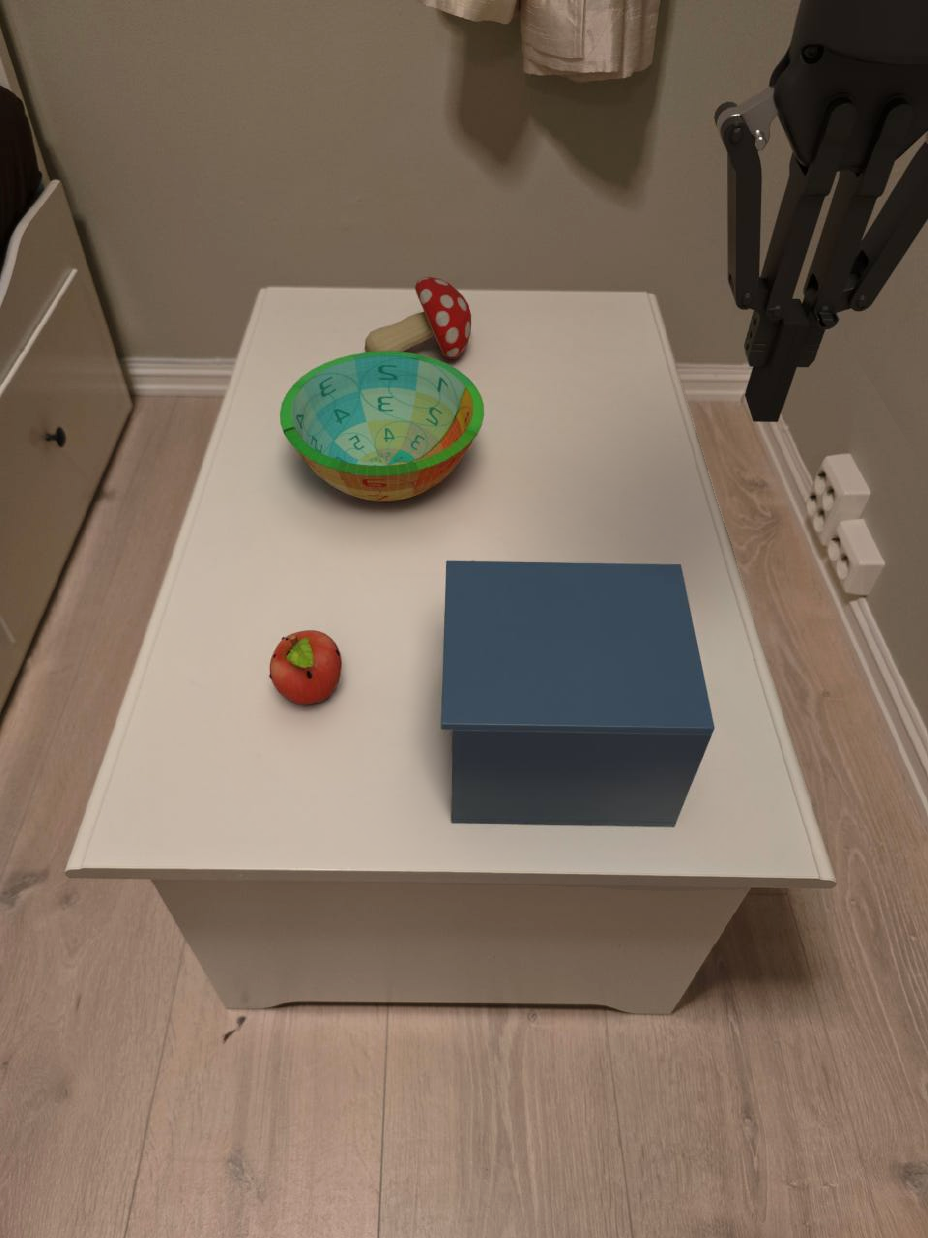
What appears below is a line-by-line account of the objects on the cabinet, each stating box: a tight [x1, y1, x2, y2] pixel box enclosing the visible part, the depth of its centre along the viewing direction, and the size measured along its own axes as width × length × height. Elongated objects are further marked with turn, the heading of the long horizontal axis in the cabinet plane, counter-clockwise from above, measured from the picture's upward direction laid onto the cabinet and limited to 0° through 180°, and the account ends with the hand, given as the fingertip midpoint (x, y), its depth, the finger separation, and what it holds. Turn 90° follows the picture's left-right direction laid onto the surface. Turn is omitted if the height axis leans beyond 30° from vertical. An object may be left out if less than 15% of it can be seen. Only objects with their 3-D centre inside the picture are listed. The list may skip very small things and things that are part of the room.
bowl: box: [279, 351, 485, 502], centre depth 101 cm, size 22×22×10 cm
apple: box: [268, 629, 343, 706], centre depth 81 cm, size 8×7×10 cm
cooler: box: [450, 730, 713, 828], centre depth 76 cm, size 19×17×14 cm
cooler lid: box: [440, 559, 716, 735], centre depth 70 cm, size 20×17×1 cm
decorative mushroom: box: [364, 276, 472, 360], centre depth 119 cm, size 11×11×15 cm
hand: (761, 407), depth 54 cm, fingers closed
